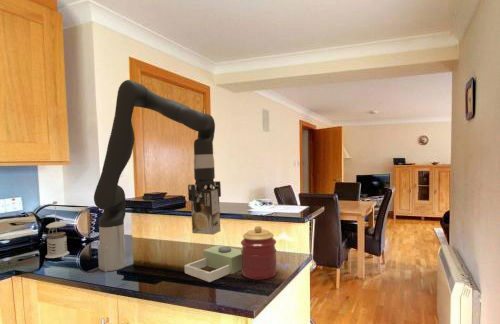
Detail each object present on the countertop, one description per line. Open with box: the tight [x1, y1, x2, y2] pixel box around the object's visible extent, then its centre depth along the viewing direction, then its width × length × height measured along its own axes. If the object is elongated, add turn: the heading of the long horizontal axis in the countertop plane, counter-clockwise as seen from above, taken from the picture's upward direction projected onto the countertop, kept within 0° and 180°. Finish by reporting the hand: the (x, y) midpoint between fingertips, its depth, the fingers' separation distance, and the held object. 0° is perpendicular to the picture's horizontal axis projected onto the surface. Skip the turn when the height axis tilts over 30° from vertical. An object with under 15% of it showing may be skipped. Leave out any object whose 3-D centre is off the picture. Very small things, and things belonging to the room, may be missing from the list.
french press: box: [44, 200, 70, 259], centre depth 148 cm, size 10×12×25 cm
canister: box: [240, 225, 278, 281], centre depth 116 cm, size 13×13×18 cm
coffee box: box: [190, 189, 221, 236], centre depth 118 cm, size 9×6×16 cm
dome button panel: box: [184, 244, 242, 283], centre depth 121 cm, size 19×16×7 cm
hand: (205, 210), depth 118 cm, fingers closed on coffee box, 7 cm apart
